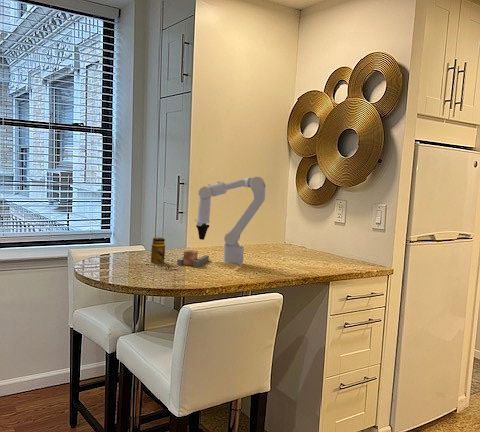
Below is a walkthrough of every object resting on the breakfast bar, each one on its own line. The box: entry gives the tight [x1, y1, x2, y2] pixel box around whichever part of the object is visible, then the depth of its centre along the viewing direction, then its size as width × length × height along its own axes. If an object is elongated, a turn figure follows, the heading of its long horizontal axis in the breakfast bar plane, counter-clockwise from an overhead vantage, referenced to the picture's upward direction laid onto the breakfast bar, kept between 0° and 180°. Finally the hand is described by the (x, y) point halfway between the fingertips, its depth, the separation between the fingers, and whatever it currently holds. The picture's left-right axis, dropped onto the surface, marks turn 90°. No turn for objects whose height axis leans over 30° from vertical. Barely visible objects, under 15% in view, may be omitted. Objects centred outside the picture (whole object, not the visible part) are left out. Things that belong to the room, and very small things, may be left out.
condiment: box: [145, 237, 166, 267], centre depth 218 cm, size 7×8×12 cm
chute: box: [176, 254, 210, 268], centre depth 224 cm, size 10×18×3 cm, turn 168°
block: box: [182, 249, 199, 267], centre depth 219 cm, size 5×5×6 cm
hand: (201, 239), depth 234 cm, fingers closed
